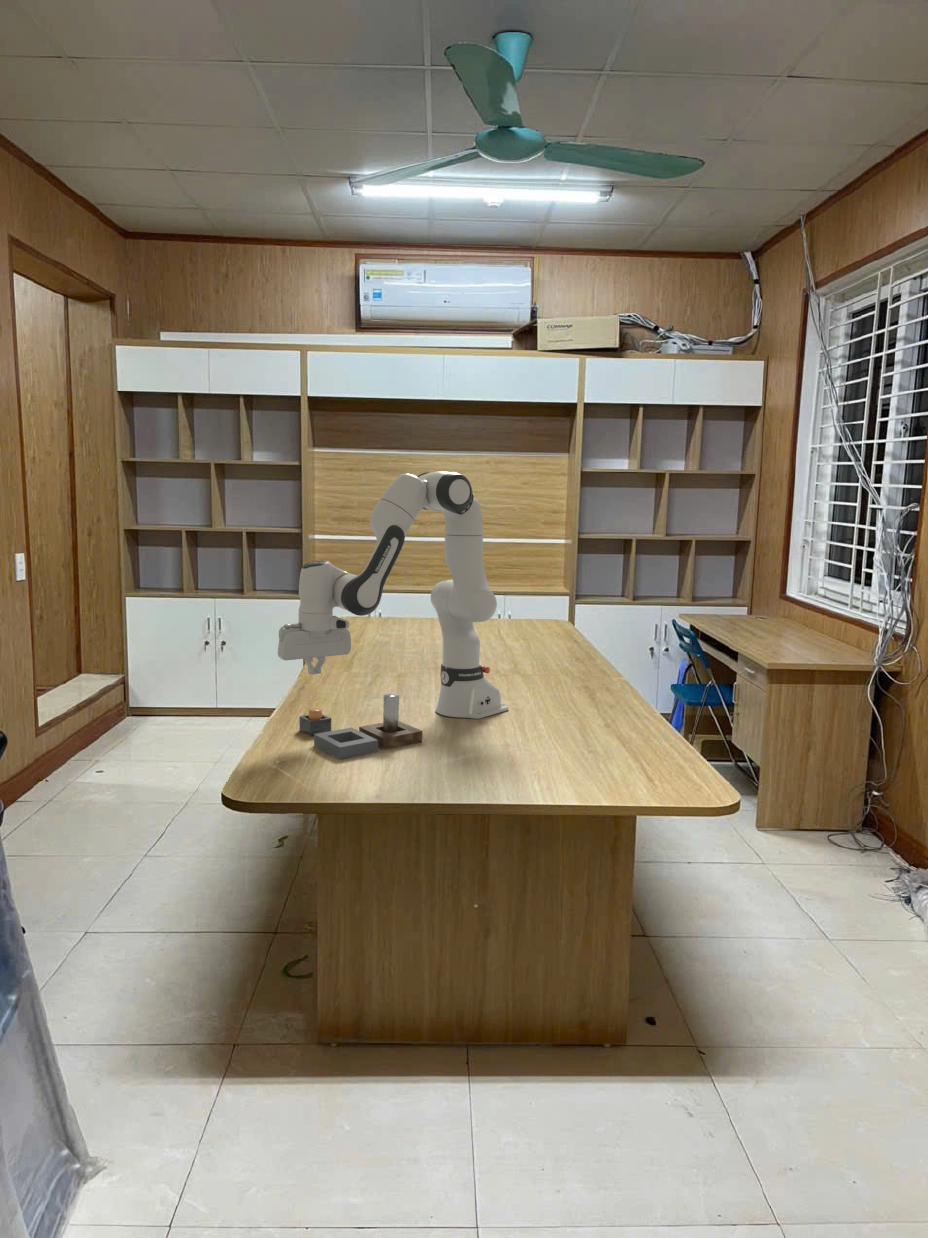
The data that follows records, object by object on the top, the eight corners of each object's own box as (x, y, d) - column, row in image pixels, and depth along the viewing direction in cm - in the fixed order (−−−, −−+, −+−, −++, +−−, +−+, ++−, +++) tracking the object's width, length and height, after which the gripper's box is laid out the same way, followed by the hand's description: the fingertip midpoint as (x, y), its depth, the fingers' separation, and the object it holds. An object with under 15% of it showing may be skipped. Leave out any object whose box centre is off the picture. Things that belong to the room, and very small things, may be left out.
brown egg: (318, 720, 230) (318, 707, 229) (324, 723, 227) (324, 710, 227) (306, 722, 228) (306, 709, 227) (312, 725, 225) (312, 712, 224)
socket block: (396, 730, 231) (397, 720, 231) (422, 741, 222) (422, 730, 221) (359, 737, 224) (359, 726, 223) (383, 749, 214) (383, 738, 214)
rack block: (351, 738, 223) (351, 727, 222) (377, 751, 213) (378, 740, 212) (314, 745, 216) (314, 734, 216) (339, 759, 206) (339, 747, 206)
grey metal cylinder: (392, 736, 225) (393, 693, 224) (401, 740, 222) (401, 696, 220) (379, 739, 223) (380, 694, 221) (388, 743, 220) (389, 698, 218)
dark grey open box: (320, 727, 232) (320, 712, 232) (331, 732, 227) (331, 718, 227) (299, 730, 228) (299, 716, 228) (310, 736, 224) (310, 721, 223)
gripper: (284, 626, 214) (284, 679, 216) (354, 621, 227) (353, 672, 229) (273, 623, 219) (273, 675, 221) (342, 618, 232) (341, 667, 234)
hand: (314, 673), depth 225 cm, fingers closed
